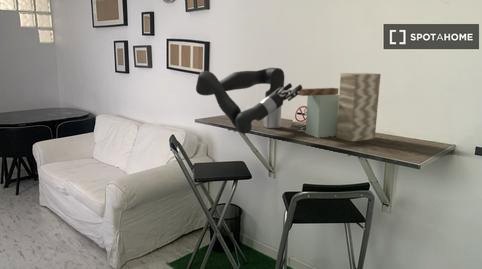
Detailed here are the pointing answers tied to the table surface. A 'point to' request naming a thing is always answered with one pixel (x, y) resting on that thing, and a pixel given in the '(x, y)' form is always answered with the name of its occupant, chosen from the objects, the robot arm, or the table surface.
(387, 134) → the table surface
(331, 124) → the short pedestal
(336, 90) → the bar
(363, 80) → the tall stand
